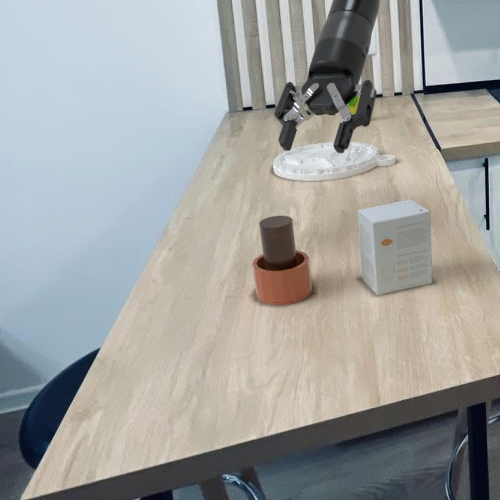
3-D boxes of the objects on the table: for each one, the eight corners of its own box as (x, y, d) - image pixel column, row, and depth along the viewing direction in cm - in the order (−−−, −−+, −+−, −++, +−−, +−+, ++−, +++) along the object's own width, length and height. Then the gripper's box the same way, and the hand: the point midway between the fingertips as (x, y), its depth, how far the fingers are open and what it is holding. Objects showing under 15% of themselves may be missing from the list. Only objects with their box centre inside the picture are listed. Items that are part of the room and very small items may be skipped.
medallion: (291, 152, 160) (290, 143, 160) (403, 149, 150) (403, 139, 149) (258, 182, 141) (257, 171, 140) (385, 180, 130) (384, 169, 130)
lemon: (368, 118, 184) (365, 82, 180) (374, 122, 179) (372, 85, 175) (344, 122, 184) (342, 86, 180) (350, 126, 178) (348, 89, 174)
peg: (305, 284, 91) (298, 217, 87) (289, 298, 87) (281, 229, 84) (278, 280, 93) (270, 214, 89) (261, 293, 90) (252, 225, 86)
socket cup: (321, 285, 91) (318, 252, 89) (294, 310, 85) (290, 276, 84) (275, 278, 95) (271, 246, 93) (246, 301, 90) (241, 268, 88)
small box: (414, 269, 92) (412, 198, 88) (433, 284, 87) (431, 210, 83) (361, 280, 91) (356, 209, 87) (376, 297, 86) (372, 222, 82)
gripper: (288, 38, 97) (255, 134, 93) (378, 32, 89) (347, 136, 85) (309, 68, 103) (279, 160, 99) (395, 65, 95) (366, 164, 91)
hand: (310, 149), depth 92 cm, fingers open, 8 cm apart
